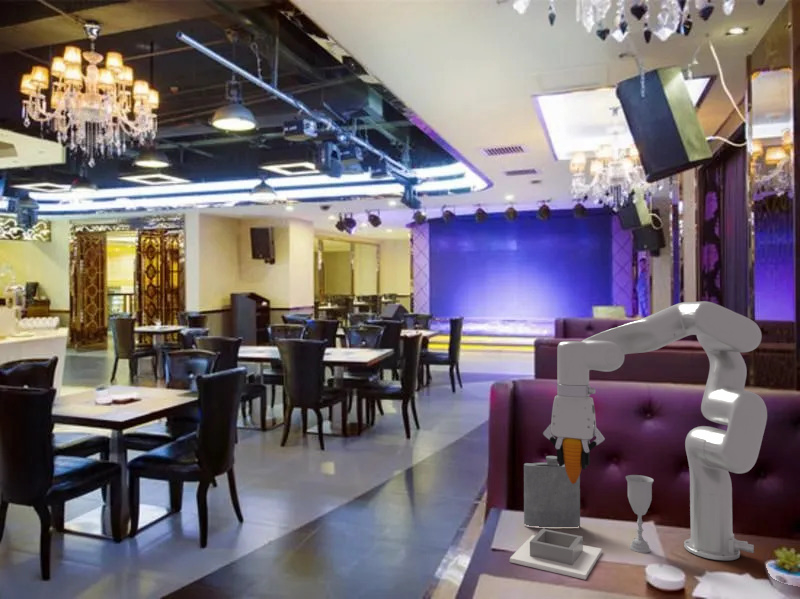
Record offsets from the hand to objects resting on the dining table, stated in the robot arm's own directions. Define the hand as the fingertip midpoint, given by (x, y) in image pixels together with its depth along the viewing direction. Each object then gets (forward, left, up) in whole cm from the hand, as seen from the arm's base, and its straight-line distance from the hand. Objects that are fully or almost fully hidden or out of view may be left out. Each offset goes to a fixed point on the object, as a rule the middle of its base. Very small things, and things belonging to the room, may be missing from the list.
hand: (573, 465), depth 139 cm
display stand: (+4, -2, -23) cm, 24 cm away
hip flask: (+11, -23, -24) cm, 35 cm away
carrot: (0, 0, -5) cm, 5 cm away
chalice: (-13, -19, -24) cm, 33 cm away
